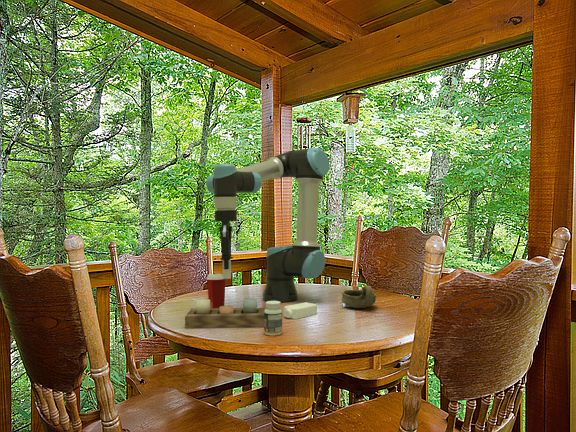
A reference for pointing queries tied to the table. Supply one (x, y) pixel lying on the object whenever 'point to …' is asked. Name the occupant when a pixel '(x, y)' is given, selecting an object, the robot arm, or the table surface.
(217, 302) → the paper cup
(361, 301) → the bowl
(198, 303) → the button cream
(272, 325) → the pill bottle
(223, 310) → the button terracotta
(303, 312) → the cream rectangular block
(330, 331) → the table surface
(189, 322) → the console
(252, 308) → the button slate
